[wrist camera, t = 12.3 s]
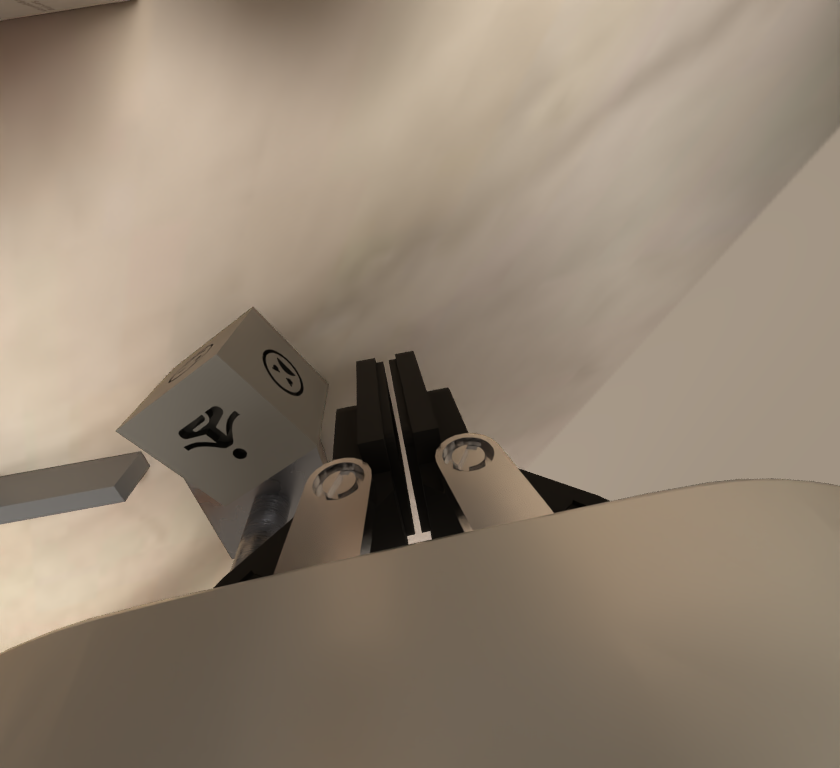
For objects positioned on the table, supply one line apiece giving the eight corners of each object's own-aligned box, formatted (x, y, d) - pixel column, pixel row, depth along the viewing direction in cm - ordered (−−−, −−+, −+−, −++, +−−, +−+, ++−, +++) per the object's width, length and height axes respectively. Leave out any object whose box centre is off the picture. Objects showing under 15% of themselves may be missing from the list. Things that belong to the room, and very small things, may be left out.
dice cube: (253, 306, 17) (216, 354, 13) (328, 383, 20) (317, 446, 15) (174, 367, 18) (115, 430, 14) (254, 434, 21) (225, 506, 16)
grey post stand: (318, 435, 21) (296, 567, 14) (348, 523, 25) (341, 662, 18) (188, 459, 21) (101, 604, 14) (236, 544, 24) (186, 693, 18)
